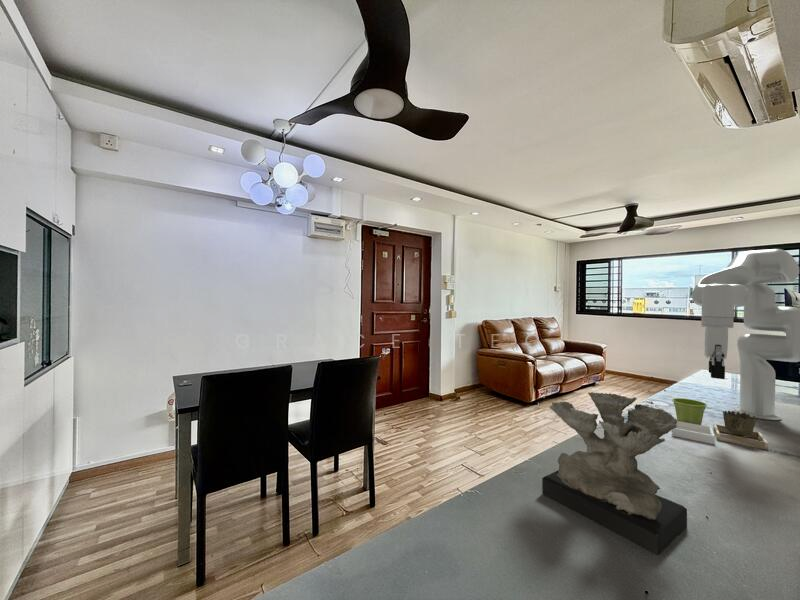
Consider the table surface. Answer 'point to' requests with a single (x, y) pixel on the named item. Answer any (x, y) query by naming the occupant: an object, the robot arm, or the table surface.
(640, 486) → the coral
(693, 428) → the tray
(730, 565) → the table surface
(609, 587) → the table surface
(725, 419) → the cup
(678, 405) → the plant pot
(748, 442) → the birch frame
